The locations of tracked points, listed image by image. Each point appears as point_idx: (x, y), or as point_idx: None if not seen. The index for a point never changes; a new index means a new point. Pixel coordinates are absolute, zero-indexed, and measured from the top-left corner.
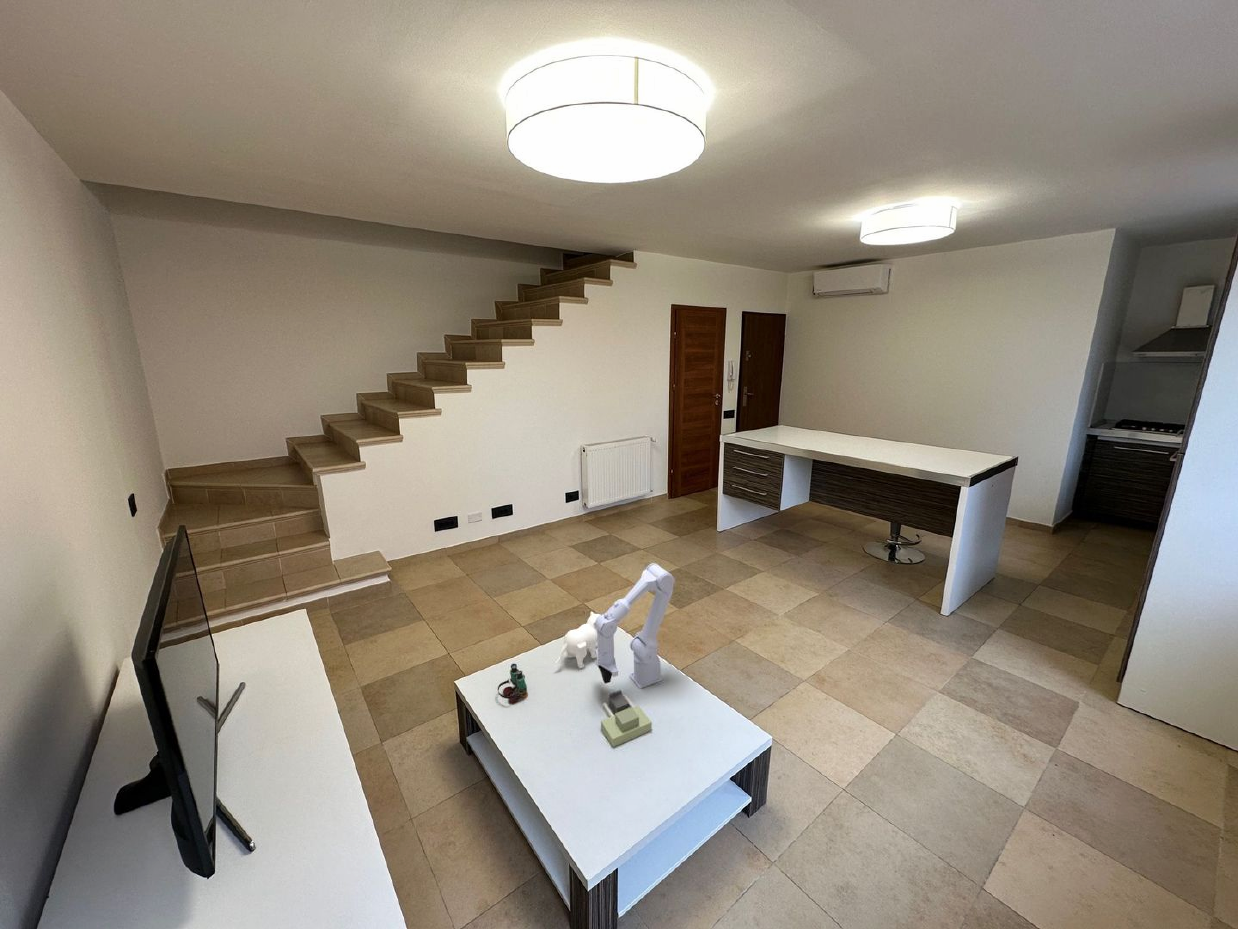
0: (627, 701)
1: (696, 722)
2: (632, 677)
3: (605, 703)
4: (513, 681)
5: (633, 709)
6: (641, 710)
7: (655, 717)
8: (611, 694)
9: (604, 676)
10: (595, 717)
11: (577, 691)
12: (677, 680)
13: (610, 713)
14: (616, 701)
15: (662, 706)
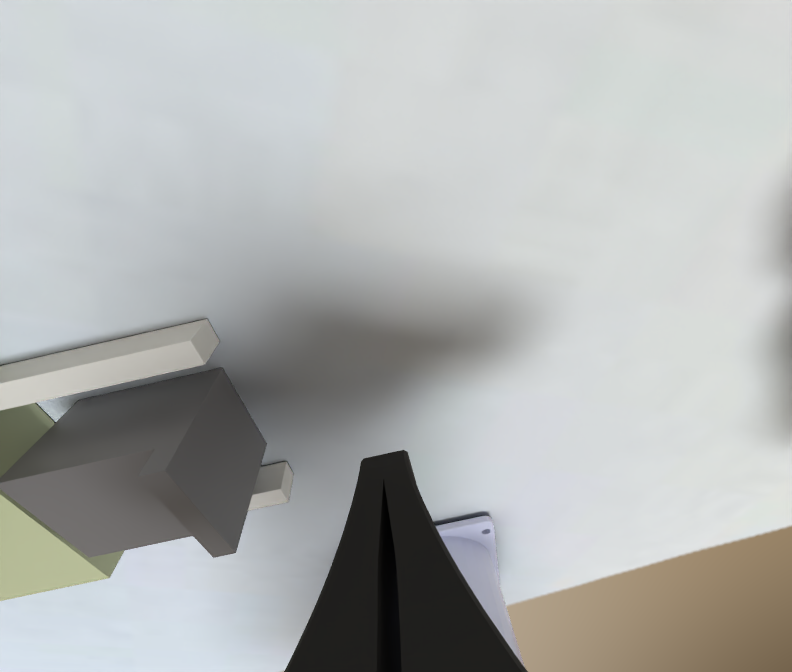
0: None
1: (89, 661)
2: (462, 530)
3: (194, 365)
4: None
5: (50, 555)
6: (48, 588)
7: None
8: (162, 492)
9: (316, 608)
10: (58, 223)
11: (518, 94)
12: None
13: (47, 383)
14: (103, 492)
15: (200, 594)
